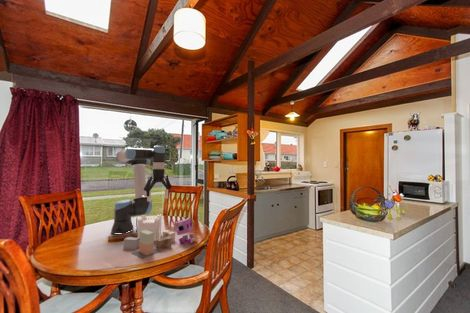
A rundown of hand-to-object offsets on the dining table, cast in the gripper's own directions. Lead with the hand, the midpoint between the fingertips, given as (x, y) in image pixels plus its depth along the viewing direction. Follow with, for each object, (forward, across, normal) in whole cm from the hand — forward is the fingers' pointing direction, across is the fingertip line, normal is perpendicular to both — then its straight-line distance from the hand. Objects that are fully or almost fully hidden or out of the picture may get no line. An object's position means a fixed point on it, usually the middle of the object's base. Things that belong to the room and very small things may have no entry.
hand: (157, 199), depth 148 cm
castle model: (+28, +1, +9) cm, 30 cm away
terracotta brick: (+28, -15, -11) cm, 33 cm away
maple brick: (+28, +6, -5) cm, 29 cm away
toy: (+28, +12, -15) cm, 34 cm away
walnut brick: (+28, -4, -13) cm, 31 cm away
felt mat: (+28, -15, -11) cm, 34 cm away
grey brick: (+28, -16, +3) cm, 33 cm away
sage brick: (+22, -15, -11) cm, 28 cm away
